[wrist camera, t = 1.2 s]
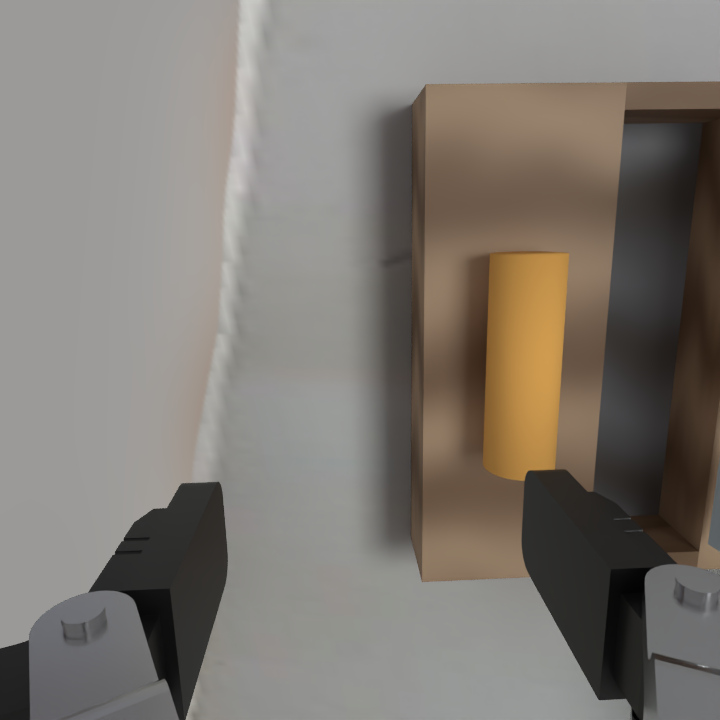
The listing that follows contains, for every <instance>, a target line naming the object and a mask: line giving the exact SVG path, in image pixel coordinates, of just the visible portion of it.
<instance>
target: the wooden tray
mask: <svg viewBox="0 0 720 720" xmlns="http://www.w3.org/2000/svg"><path fill="white" fill-rule="evenodd" d="M520 251H543V252H565V253H569V264H568V280H567V295H566V310H565V326H564V341H563V356H562V372H561V387H560V402H559V418H558V433H557V448H556V463H555V469H566V470H567V471H568V472H569V473H570V474H571V475H572V476H573V477H574V478H575V479H576V480H577V481H578V482H579V483H580V484H581V485H582V486H583V488H584V489H585V490H586V491H587V492H596V493H598V494H600V495H602V496H604V497H606V498H607V499H609V500H611V501H613V502H615V503H617V504H618V505H619V506H620V507H621V508H622V509H623V510H624V511H625V512H626V513H627V514H628V515H629V516H630V517H631V520H634V521H635V522H636V523H637V524H638V525H639V526H640V527H641V528H642V529H643V533H644V532H646V533H647V534H648V535H649V536H650V537H651V538H652V539H653V540H654V541H655V542H656V543H657V544H658V545H659V546H660V547H661V548H662V549H663V550H664V551H665V552H666V553H667V554H668V555H669V556H670V557H671V558H672V559H673V560H674V561H675V562H676V563H677V564H678V565H687V566H693V567H697V568H701V569H720V552H719V551H718V550H716V549H715V548H713V547H712V546H710V545H709V544H708V539H709V531H710V524H711V517H712V509H713V502H714V495H715V487H716V480H717V473H718V466H719V458H720V82H628V83H521V84H426V85H425V87H424V88H423V89H422V91H421V92H420V94H419V95H418V97H417V98H416V100H415V101H414V103H413V104H412V391H411V539H412V543H413V547H414V551H415V555H416V559H417V563H418V567H419V571H420V575H421V579H422V582H429V581H452V580H475V579H497V578H520V577H530V575H529V574H528V572H527V569H526V567H525V563H524V559H523V554H522V542H521V541H522V519H523V499H524V481H519V480H511V479H506V478H502V477H499V476H497V475H494V474H492V473H490V472H489V471H487V470H486V469H485V468H484V466H483V443H484V413H485V383H486V354H487V324H488V294H489V265H490V253H496V252H520Z"/></svg>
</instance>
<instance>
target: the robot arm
mask: <svg viewBox="0 0 720 720" xmlns="http://www.w3.org/2000/svg"><path fill="white" fill-rule="evenodd" d="M521 542H522V554H523V559H524V563H525V567H526V569H527V572H528V574H529V575H530V577H531V579H532V581H533V583H534V584H535V586H536V588H537V590H538V592H539V593H540V595H541V597H542V599H543V601H544V602H545V604H546V606H547V608H548V610H549V611H550V613H551V615H552V617H553V619H554V620H555V622H556V624H557V626H558V628H559V629H560V631H561V633H562V635H563V637H564V638H565V640H566V642H567V644H568V646H569V647H570V649H571V651H572V653H573V655H574V656H575V658H576V660H577V662H578V663H579V665H580V667H581V669H582V671H583V672H584V674H585V676H586V678H587V680H588V681H589V683H590V685H591V687H592V689H593V690H594V692H595V694H596V696H597V698H598V699H599V700H611V699H627V701H628V702H629V704H630V705H631V713H630V720H720V575H718V574H716V573H713V572H711V571H708V570H705V569H701V568H697V567H693V566H687V565H678V564H677V563H676V562H675V561H674V560H673V559H672V558H671V557H670V556H669V555H668V554H667V553H666V552H665V551H664V550H663V549H662V548H661V547H660V546H659V545H658V544H657V543H656V542H655V541H654V540H653V539H652V538H651V537H650V536H649V535H648V534H647V533H646V532H644V533H643V529H642V528H641V527H640V526H639V525H638V524H637V523H636V522H635V521H634V520H631V517H630V516H629V515H628V514H627V513H626V512H625V511H624V510H623V509H622V508H621V507H620V506H619V505H618V504H617V503H615V502H613V501H611V500H609V499H607V498H606V497H604V496H602V495H600V494H598V493H596V492H587V491H586V490H585V489H584V488H583V486H582V485H581V484H580V483H579V482H578V481H577V480H576V479H575V478H574V477H573V476H572V475H571V474H570V473H569V472H568V471H567V470H566V469H554V470H529V471H528V472H527V473H526V476H525V481H524V499H523V519H522V541H521ZM227 566H228V554H227V541H226V529H225V517H224V505H223V494H222V488H221V484H220V483H219V482H207V483H183V484H181V485H180V486H179V488H178V490H177V492H176V493H175V495H174V497H173V499H172V501H171V502H170V504H169V506H168V507H167V508H165V509H164V508H162V509H153V510H151V511H150V512H149V513H147V514H146V515H144V516H143V517H141V518H140V519H139V520H137V521H136V522H134V524H133V525H132V527H131V528H130V530H129V531H128V533H127V534H126V536H125V537H124V541H122V542H121V543H120V545H119V546H118V548H117V550H116V551H115V555H113V556H112V557H111V559H110V560H109V562H108V563H107V565H106V566H105V568H104V570H103V571H102V573H101V574H100V575H99V577H98V579H97V580H96V582H95V583H94V585H93V586H92V587H91V589H90V591H89V592H88V593H85V594H81V595H78V596H75V597H72V598H70V599H68V600H65V601H63V602H61V603H59V604H57V605H56V606H54V607H53V608H51V609H50V610H48V611H47V612H46V613H44V614H43V615H42V616H41V617H40V618H39V619H38V620H37V621H36V622H35V624H34V625H33V627H32V629H31V631H30V634H29V640H28V641H26V642H23V643H20V644H16V645H13V646H9V647H5V648H1V649H0V720H185V719H186V716H187V713H188V709H189V706H190V702H191V699H192V696H193V692H194V689H195V685H196V682H197V679H198V675H199V672H200V668H201V665H202V662H203V658H204V655H205V652H206V648H207V645H208V641H209V638H210V635H211V631H212V628H213V624H214V621H215V618H216V614H217V611H218V607H219V604H220V601H221V597H222V594H223V591H224V587H225V583H226V577H227Z"/></svg>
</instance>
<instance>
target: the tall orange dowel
mask: <svg viewBox="0 0 720 720" xmlns="http://www.w3.org/2000/svg"><path fill="white" fill-rule="evenodd" d="M568 264H569V253H565V252H543V251H520V252H496V253H490V265H489V294H488V324H487V354H486V383H485V413H484V443H483V466H484V468H485V469H486V470H487V471H489V472H490V473H492V474H494V475H497V476H499V477H502V478H506V479H511V480H519V481H525V476H526V473H527V472H528V471H529V470H554V469H555V463H556V448H557V433H558V418H559V402H560V387H561V372H562V356H563V341H564V326H565V310H566V295H567V280H568Z"/></svg>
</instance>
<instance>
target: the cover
mask: <svg viewBox="0 0 720 720" xmlns="http://www.w3.org/2000/svg"><path fill="white" fill-rule="evenodd" d="M708 544H709V545H710V546H712V547H713V548H715V549H716V550H718V551H719V552H720V458H719V466H718V473H717V480H716V487H715V495H714V502H713V509H712V517H711V524H710V531H709V539H708Z"/></svg>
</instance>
